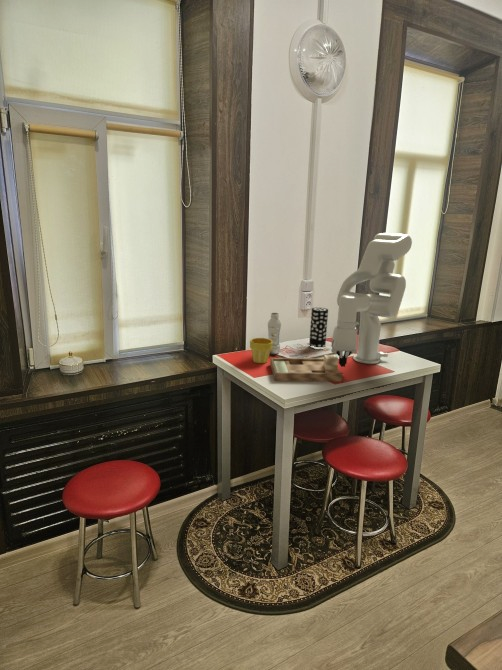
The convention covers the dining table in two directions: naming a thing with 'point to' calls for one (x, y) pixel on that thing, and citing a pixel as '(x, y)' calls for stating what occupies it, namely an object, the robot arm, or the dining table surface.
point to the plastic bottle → (274, 332)
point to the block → (330, 362)
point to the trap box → (302, 370)
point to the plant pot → (260, 349)
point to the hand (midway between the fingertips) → (342, 365)
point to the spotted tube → (318, 327)
